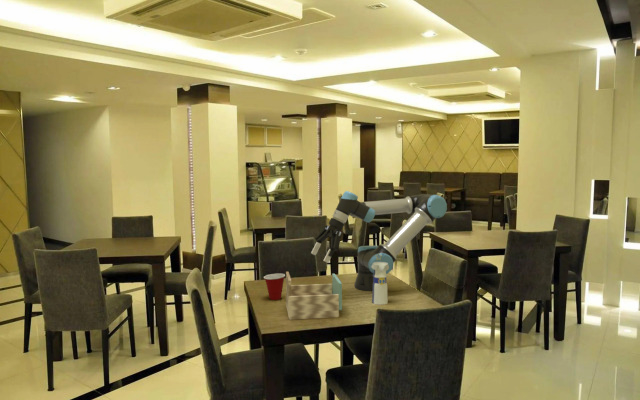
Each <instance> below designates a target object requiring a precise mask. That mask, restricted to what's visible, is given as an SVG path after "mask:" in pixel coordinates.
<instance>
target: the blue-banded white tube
mask: <svg viewBox="0 0 640 400" xmlns="http://www.w3.org/2000/svg"><path fill="white" fill-rule="evenodd" d="M376 257H377V260H378V259H379V260H381V257H382V256H380V255H379V253H378V255H376ZM372 269H374V274H373V277H374V280H373V281H374V282H373V290H372V295H371V297H372V298H371V303H372V304H374V305H381V306H382V305H383V306H384V305H387V304H388V302H389V301H388V299H389V298H388V282H387V277H388V274H386V271H387V270H388V269H389V266H388V263H386V262H374V263H373V264H372Z"/></svg>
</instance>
